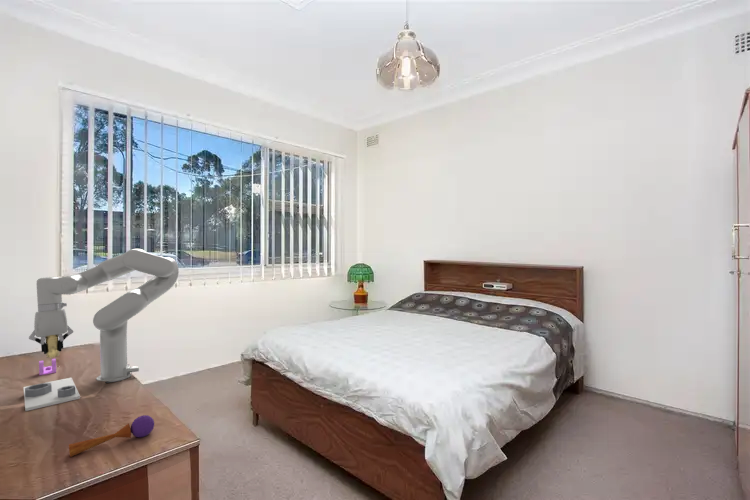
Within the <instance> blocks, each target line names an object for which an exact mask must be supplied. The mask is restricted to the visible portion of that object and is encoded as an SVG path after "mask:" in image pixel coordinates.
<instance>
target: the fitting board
mask: <svg viewBox="0 0 750 500" xmlns="http://www.w3.org/2000/svg"><path fill="white" fill-rule="evenodd" d="M23 398H24V409H25V410H24V412H28V411H33V410H37V409H41V408H44V407H45V408H46V407H51V406H54V405H57V404H58V405H59V404H62V403H66V402H71V401H75V400H79V399H81V395H80V393H79V390H78V388H77V387H76V384H75V382H74V380H73V377H67V378H62V379H57V380H52V381H46V382H42V383H37V384H33V385H32V384H31V385H27V386H23Z"/></svg>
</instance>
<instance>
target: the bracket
mask: <svg viewBox="0 0 750 500" xmlns="http://www.w3.org/2000/svg"><path fill="white" fill-rule="evenodd" d="M56 359H57V358H55V357H54V358H51V365H49V366H45V365H44V364H45V363H44V360H39V361H38V372H39V373H38V374H39V376H43V375H49V374H56V373H57V360H56Z"/></svg>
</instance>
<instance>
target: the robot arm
mask: <svg viewBox="0 0 750 500" xmlns="http://www.w3.org/2000/svg"><path fill="white" fill-rule="evenodd" d="M134 271H136V272H140V273H145V274H148V275H151V276H154V277H152V278H150V279H149V280H147V281H146V282H145V283H143V284H142V285H140V286H138V287H137V288H135V289H132V290H130V291H127V292H126V293H124V294H123V295H121V296H119V297H118V298H116V299H115V300H113V301H111V302H110V303H108V304H106V306H104V307H103V308H101V309H99V310H97V311H96V313H95V314H94V315H93V318H92V323H93V326H94V327H95V328H96V329H97V330H99V358H100V359H99V360H100V361H99V362H100V363H99V364H100V375H98V376H97V377H96V381H98V382H104V383H106V384H107V383H116V382H120V381H123V380H126V379H128V378H130V377H131V376H132V375H133V373H137V372H139V371H140V367H139V366H138V365H137V366H135V365H134V366H131V365H130V363H128V335H127V334H128V321H129V320H131V319H132V318H133V317H134V316H136V315H138V314H139V313H140V312H142V311H143V310H144V309H146V307H148V306H149V305H150V304H151V303H153V302H154V301H156V300H157V299H159V298H160V297H161V296H163V295H164V294H166V293H167V292H168V291H169V290H170V289H172V287H173V286H175V284H176V282H177V280H178V277H179V272H180V271H179V265H178V263H177V261H176V260H175V259H174V258H172V257H168V256H165V257H164V256H160V255H157V254H153V253H149V252H147V251H146V250H144V249H143V248H142V249H141V248H133V249H128V250H127V251H126V252H124V253H122V254H120V255H117V256H114V257H111V258H108V259H106V260H103V261H102V262H100V263H99V264H98V265H96V266H95V267H92V268H89V269H87V270H84V271H80V272H79V273H77V274H73V275H72V274H71V275H68V276H63V277H62V276H61V277H58V276H49V277H48V276H47V277H41V278H38V279H37V280H36V297H37V298H36V299H37V311H36V312H35V313H34V314H35V315H34V323H33V324H34V325H33V326H34V327H33V328H34V329H33V331H32V332H31V334H30V335H29V336H28V339H29V340H31V341H34V342H36V343H37V344H39V345H40V346H41V353H43V354H44V355H46V354H47V350H46V340H45V337H46V336H50V335H58V340H59V352H62V350H63V349H64V340H65V339H67V338H68V337H69V336H71V335H72V334H73V333H74V330H73V329H72V328H71V327H70V326H69V325H68V318H67V313H66V310H65V307H67V302H66V303H65V302H63V297H62V295H67V296H68V295H74V294H77V293H81V292H83V291H86V290H88V289H90V288H93V287H95V286H98V285H101V284H102V283H105V282H109V281H112V280H115V279H117V278H120V277H122V276H125V275H127V274H130V273H131V272H134ZM130 373H131V374H132V375H131V374H130Z"/></svg>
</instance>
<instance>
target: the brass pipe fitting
mask: <svg viewBox="0 0 750 500" xmlns="http://www.w3.org/2000/svg"><path fill="white" fill-rule="evenodd" d="M45 343H46V350H47V354H45V355H46V358H48V359H49V358H50V359H52V358H55V357H59V356H60V351H59V336H58V335H50V336H46V337H45Z"/></svg>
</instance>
